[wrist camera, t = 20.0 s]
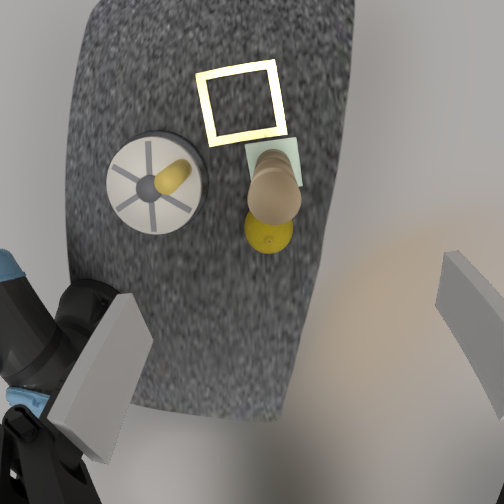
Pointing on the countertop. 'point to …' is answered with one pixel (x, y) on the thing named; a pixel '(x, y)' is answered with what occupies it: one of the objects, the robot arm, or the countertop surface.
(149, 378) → the countertop surface
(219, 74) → the square gold frame
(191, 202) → the handwheel
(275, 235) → the lemon
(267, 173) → the dowel
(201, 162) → the wheel base
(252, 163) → the coaster
